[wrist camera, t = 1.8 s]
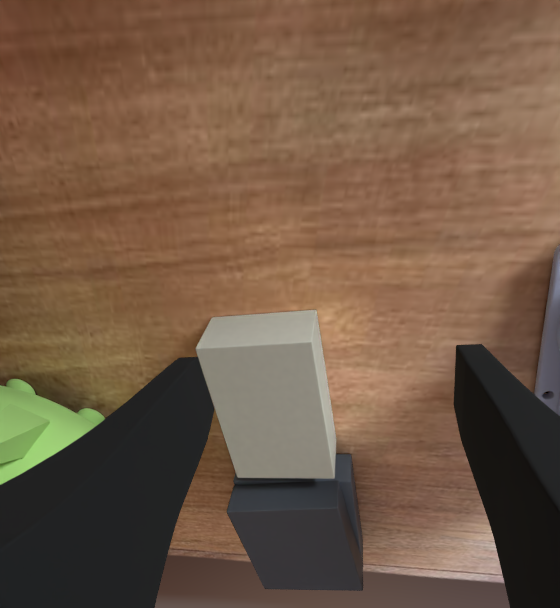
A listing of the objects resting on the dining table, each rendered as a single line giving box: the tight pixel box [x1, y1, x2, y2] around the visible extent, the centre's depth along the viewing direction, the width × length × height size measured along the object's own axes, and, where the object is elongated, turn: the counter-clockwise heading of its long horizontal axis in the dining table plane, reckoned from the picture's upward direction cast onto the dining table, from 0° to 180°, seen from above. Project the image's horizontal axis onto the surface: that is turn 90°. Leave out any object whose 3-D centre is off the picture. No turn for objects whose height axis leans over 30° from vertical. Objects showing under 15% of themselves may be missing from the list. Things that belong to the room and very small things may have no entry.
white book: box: [196, 310, 336, 479], centre depth 23 cm, size 9×6×3 cm, turn 10°
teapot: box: [0, 379, 105, 485], centre depth 25 cm, size 12×12×10 cm
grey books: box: [227, 454, 363, 591], centre depth 27 cm, size 9×7×4 cm
